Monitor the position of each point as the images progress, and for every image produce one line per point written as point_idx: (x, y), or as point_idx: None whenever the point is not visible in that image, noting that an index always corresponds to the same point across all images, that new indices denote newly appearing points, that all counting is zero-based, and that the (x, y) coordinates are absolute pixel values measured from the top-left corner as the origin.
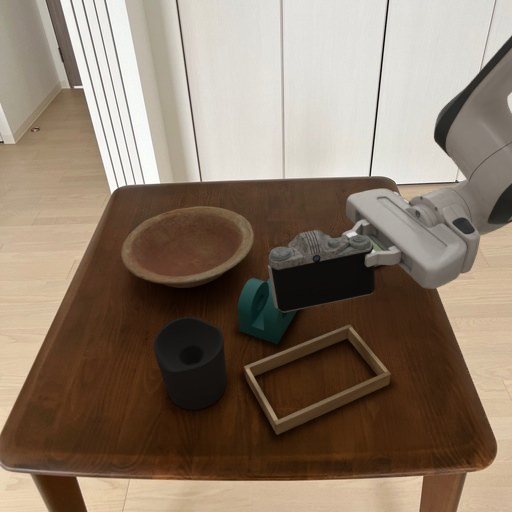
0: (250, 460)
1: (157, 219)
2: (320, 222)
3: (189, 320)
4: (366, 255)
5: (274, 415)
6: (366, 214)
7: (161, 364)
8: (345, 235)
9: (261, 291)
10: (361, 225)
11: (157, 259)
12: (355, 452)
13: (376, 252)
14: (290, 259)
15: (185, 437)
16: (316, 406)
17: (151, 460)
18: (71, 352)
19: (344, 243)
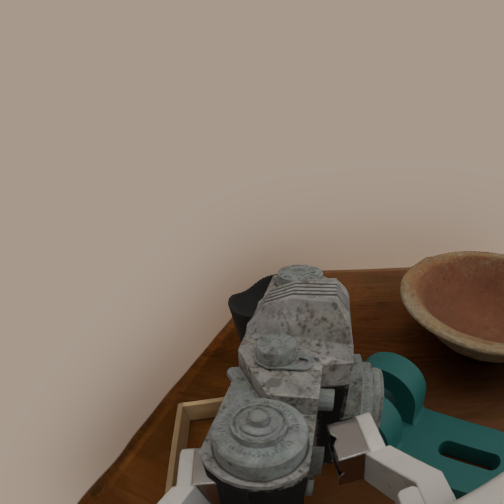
0: (177, 392)
1: None
2: None
3: None
4: (197, 450)
5: (189, 404)
6: (469, 496)
7: (254, 284)
8: (351, 418)
9: (388, 385)
10: (413, 487)
11: (481, 295)
12: (121, 473)
13: (187, 483)
14: (269, 288)
15: (230, 353)
16: (172, 445)
17: (222, 334)
18: (357, 281)
19: (265, 381)
